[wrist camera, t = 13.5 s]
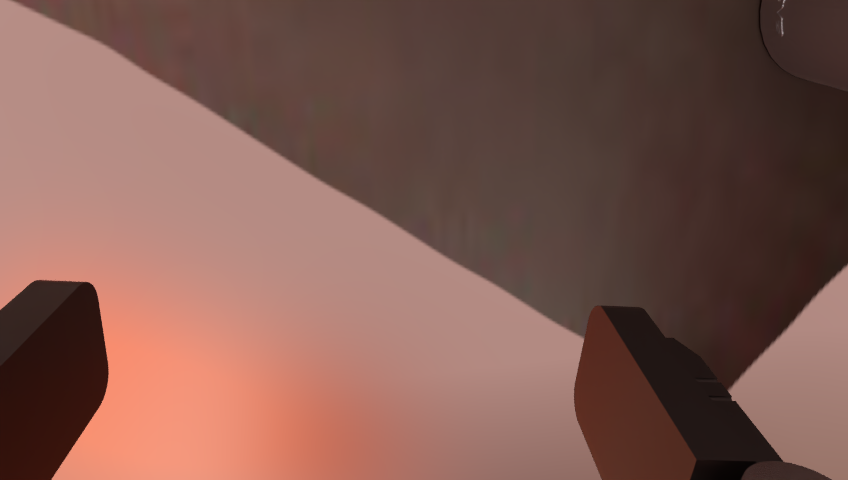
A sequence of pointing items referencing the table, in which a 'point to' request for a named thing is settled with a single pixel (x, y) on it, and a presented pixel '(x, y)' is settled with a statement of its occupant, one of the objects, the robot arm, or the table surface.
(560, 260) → the table surface
